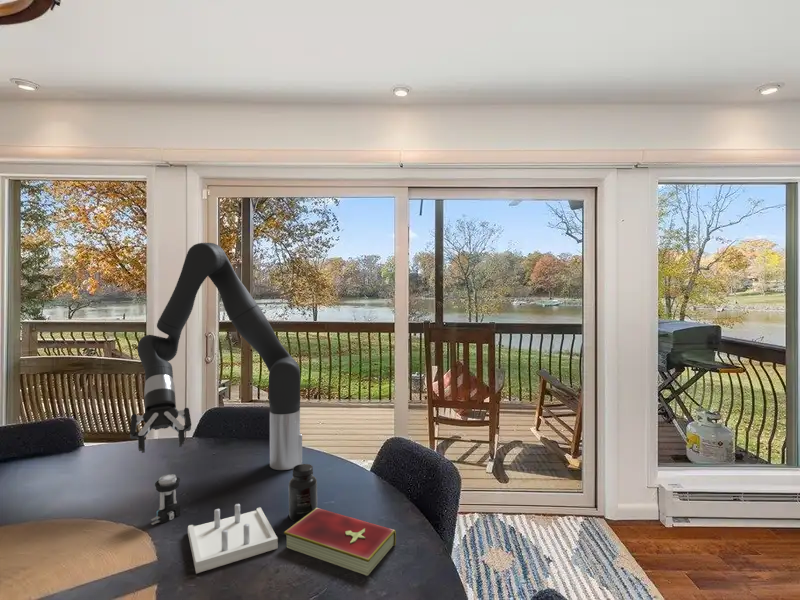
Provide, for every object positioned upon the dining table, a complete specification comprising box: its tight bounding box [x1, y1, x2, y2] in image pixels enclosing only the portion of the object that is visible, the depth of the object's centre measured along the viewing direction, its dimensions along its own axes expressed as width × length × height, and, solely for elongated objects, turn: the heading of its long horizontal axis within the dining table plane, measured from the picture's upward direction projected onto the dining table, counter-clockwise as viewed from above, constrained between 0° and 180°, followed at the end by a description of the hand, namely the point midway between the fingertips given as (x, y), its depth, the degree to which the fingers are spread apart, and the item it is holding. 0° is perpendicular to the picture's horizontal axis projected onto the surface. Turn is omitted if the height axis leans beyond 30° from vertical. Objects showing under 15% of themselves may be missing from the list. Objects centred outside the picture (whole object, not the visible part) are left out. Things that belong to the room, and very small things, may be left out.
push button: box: [150, 473, 181, 525], centre depth 104 cm, size 7×5×10 cm
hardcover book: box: [283, 507, 397, 577], centre depth 94 cm, size 12×21×4 cm, turn 64°
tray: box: [187, 503, 279, 574], centre depth 96 cm, size 16×16×5 cm
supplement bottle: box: [288, 463, 318, 523], centre depth 106 cm, size 7×7×12 cm
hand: (162, 448), depth 113 cm, fingers open, 8 cm apart
